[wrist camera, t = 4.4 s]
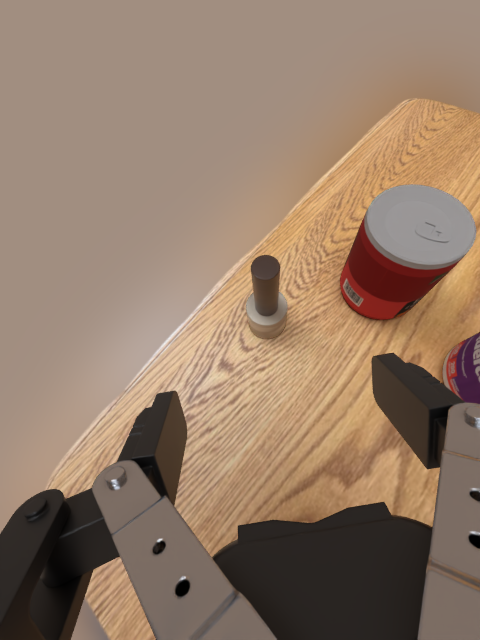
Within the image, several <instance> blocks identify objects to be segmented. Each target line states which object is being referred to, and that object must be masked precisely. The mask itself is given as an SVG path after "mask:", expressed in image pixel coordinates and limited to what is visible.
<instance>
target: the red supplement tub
mask: <svg viewBox="0 0 480 640" xmlns="http://www.w3.org/2000/svg"><path fill="white" fill-rule="evenodd" d="M475 237H476V227H475V222H474V220H473V217H472V215H471V214H470V212H469V211H468V209H467V208H466V207H465V206H464V205H463V204H462V203H461V202H460V201H459V200H457V199H456V198H455V197H453V196H452V195H450V194H448V193H446V192H444V191H442V190H439V189H436V188H433V187H429V186H424V185H401V186H397V187H393V188H390V189H388V190H385V191H384V192H382V193H381V194H379V195H378V196H377V197H376V198H375V199H374V200H373V201H372V203H371V205H370V206H369V208H368V210H367V211H366V214H365V216H364V219H363V221H362V223H361V226H360V228H359V231H358V233H357V236H356V238H355V241H354V243H353V246H352V248H351V251H350V253H349V256H348V258H347V261H346V263H345V266H344V269H343V271H342V274H341V278H340V286H341V291H342V295H343V297H344V299H345V301H346V302H347V303H348V305H349V306H350V307H351V308H352V309H353V310H355V311H356V312H358V313H359V314H361V315H363V316H365V317H368V318H372V319H378V320H386V319H391V318H395V317H399V316H401V315H403V314H405V313H406V312H408V311H409V310H410V309H411V308H412V307H413V306H414V305H415V304H416V303H418V302H419V301H420V300H421V299H422V298H423V297H424V296H425V295H426V294H427V293H428V292H429V291H430V290H431V289H432V288H433V287H434V286H435V285H436V284H437V283H438V282H439V281H440V280H441V279H442V278H443V277H444V276H445V275H446V274H447V273H448V272H449V271H450V270H451V269H452V268H453V267H455V266H456V264H457V263H458V262H459V261H460V260H461V259H462V258H463V257H464V256H465V255H466V253H467V252H468V251H469V249H470V248H471V247H472V245H473V243H474V240H475Z"/></svg>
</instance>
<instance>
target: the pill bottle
mask: <svg viewBox="0 0 480 640" xmlns="http://www.w3.org/2000/svg"><path fill="white" fill-rule="evenodd" d="M443 380H444V384H445V386H446V387H447V388H448V389H450V390H451V391H452V392H453V393H455V394H456V395H457V396H458V397H460V398H461V399H462V400H463V401H465V402H466V403H477V404H480V332H479V333H478V334H476V335H474V336H472V337H470V338H468V339H466V340H464V341H462V342H461V343H459V344H457V345H456V346H455V347H453V348H452V349H451V350H450V352H449V353H448V354H447V356H446V358H445V361H444V364H443Z"/></svg>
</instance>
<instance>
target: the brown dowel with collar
mask: <svg viewBox="0 0 480 640" xmlns="http://www.w3.org/2000/svg"><path fill="white" fill-rule="evenodd" d="M251 274H252V283H253V293H252V294H251V295H250V297H249V298H248V300H247V303H246V312H247V317H248V323H249V327H250V329H251V331H252V332H253V333H254V334H255V335H256V336H258V337H260V338H263V339H271V338H275V337H277V336H278V335H280V334H281V333H282V331H283V330H284V328H285V324H286V316H287V301H286V299H285V297H284V296H283V294H282V293H280V292H279V279H280V264H279V262H278V260H277V259H276V258H274V257H272V256H269V255H262V256H259V257H257V258H256V259H255V260H254V261H253V262H252V265H251Z"/></svg>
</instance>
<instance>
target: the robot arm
mask: <svg viewBox="0 0 480 640" xmlns="http://www.w3.org/2000/svg"><path fill="white" fill-rule="evenodd" d="M372 383H373V394H374V398H375V400H376V402H377V404H378V406H379V407H380V408H381V410H382V411H383V412H384V414H385V415H386V416H387V418H388V419H389V420H390V421H391V423H392V424H393V425H394V427H395V428H396V429H397V431H398V432H399V433H400V434H401V436H402V437H403V438H404V440H405V441H406V442H407V444H408V445H409V446H410V448H411V449H412V450H413V451H414V453H415V454H416V455H417V457H418V458H419V459H420V461H421V462H422V463H423V464H424V466H425V467H426V468H427V469H432V468H438V467H440V474H439V481H438V489H437V497H436V505H435V513H434V521H433V527H431V526H429V525H427V524H424V523H422V522H419V521H417V520H414V519H410V518H407V517H402V516H397V515H391V514H390V512H389V510H388V508H387V506H386V504H385V502H380V503H374V504H368V505H362V506H356V507H350V508H346V509H344V510H342V511H340V512H337V513H335V514H333V515H331V516H329V517H326V518H324V519H322V520H320V521H318V522H315V523H302V522H291V521H280V520H270V521H263V522H257V523H251V524H245V525H239V526H238V539H237V540H235V541H233V542H231V543H230V544H228V545H226V546H225V547H223V548H222V549H221V550H219V551H218V552H217V553H216V554H215V555H214V556H213V557H211V556H210V555H209V553H208V552H207V551H206V549H205V548H204V547H203V545H202V544H201V542H200V541H199V540H198V538H197V537H196V536H195V534H194V533H193V532H192V530H191V529H190V527H189V526H188V525H187V523H186V522H185V521H184V519H183V518H182V517H181V515H180V514H179V513H178V511H177V510H176V508H175V507H174V504H175V499H176V494H177V488H178V483H179V477H180V472H181V467H182V461H183V456H184V451H185V445H186V440H187V425H186V420H185V417H184V414H183V410H182V407H181V403H180V400H179V396H178V394H177V392H176V391H170V392H164V393H158V394H157V395H156V397H155V400H154V402H153V405H152V407H149V408H145V409H144V410H143V411H142V412H141V413H140V414H139V416H138V417H137V418H136V420H135V423H134V425H133V428H132V429H131V432H130V434H129V436H128V438H127V441H126V443H125V445H124V447H123V449H122V452H121V454H120V456H119V458H118V461H117V462H116V463H114V464H112V465H110V466H109V467H107V468H106V469H104V470H103V471H102V472H101V473H100V474H99V475H98V476H97V478H96V479H95V481H94V483H93V486H92V488H91V489H88V490H86V491H84V492H81V493H79V494H77V495H74V496H72V497H70V498H67V499H65V497H64V495H63V493H62V492H61V491H60V490H57V489H51V490H46V491H43V492H41V493H39V494H36V495H35V496H33V497H31V498H30V499H28V500H27V501H26V502H25V503H24V504H22V505H21V506H20V507H19V508H18V509H17V510H16V511H15V513H14V514H13V515H12V517H11V518H10V520H9V522H8V523H7V525H6V526H5V528H4V529H3V531H2V532H1V534H0V640H71V637H72V633H73V631H74V627H75V625H76V622H77V618H78V615H79V612H80V609H81V606H82V603H83V600H84V597H85V594H86V591H87V588H88V585H89V582H90V579H91V576H92V573H93V570H94V569H95V568H97V567H99V566H101V565H103V564H105V563H107V562H109V561H111V560H113V559H115V558H117V557H119V556H120V557H121V559H122V562H123V564H124V566H125V569H126V571H127V573H128V576H129V578H130V580H131V582H132V585H133V587H134V589H135V592H136V594H137V596H138V599H139V601H140V603H141V606H142V608H143V610H144V612H145V615H146V617H147V619H148V622H149V624H150V626H151V629H152V631H153V633H154V636H155V638H156V640H480V404H477V403H466V402H465V401H463V400H462V399H461V398H460V397H458V396H457V395H456V394H455V393H453V392H452V391H451V390H450V389H448V388H447V387H446V386H445V385H444V384H442V383H440V381H439V380H437V379H436V378H435V377H432V375H431V374H430V373H429V372H427V371H426V370H425V369H424V368H422V367H420V366H417V365H415V364H412V363H405V362H404V361H402V360H401V359H400V358H399V357H398V356H397V355H395V354H394V353H388V354H383V355H377V356H373V358H372Z"/></svg>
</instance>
